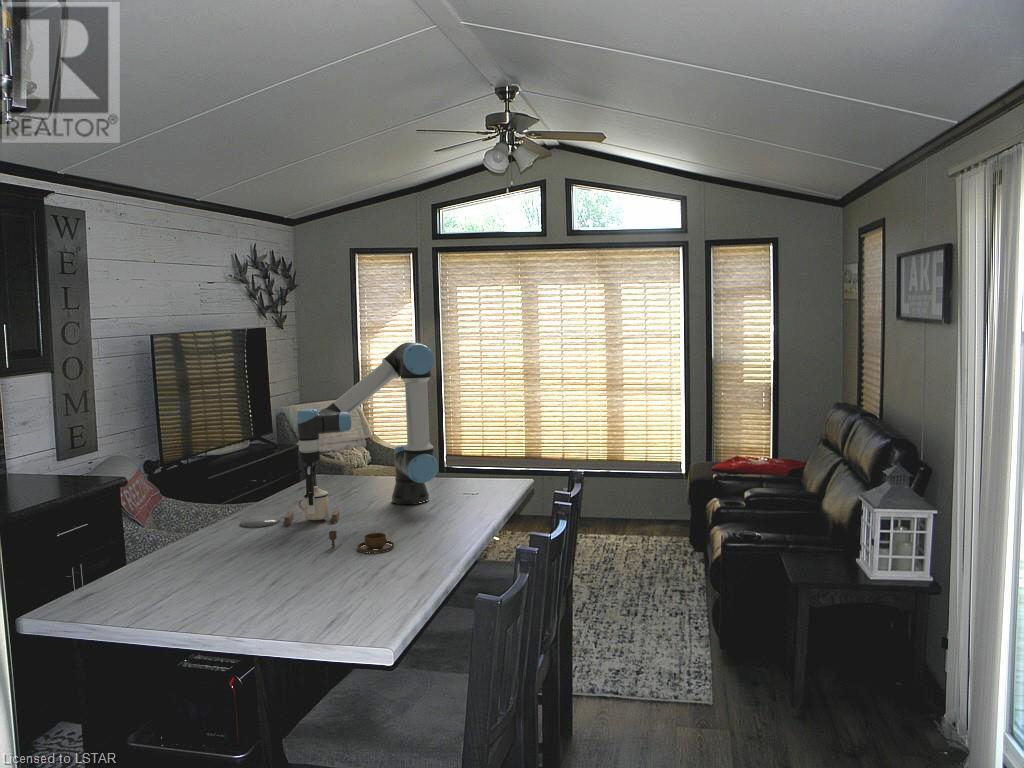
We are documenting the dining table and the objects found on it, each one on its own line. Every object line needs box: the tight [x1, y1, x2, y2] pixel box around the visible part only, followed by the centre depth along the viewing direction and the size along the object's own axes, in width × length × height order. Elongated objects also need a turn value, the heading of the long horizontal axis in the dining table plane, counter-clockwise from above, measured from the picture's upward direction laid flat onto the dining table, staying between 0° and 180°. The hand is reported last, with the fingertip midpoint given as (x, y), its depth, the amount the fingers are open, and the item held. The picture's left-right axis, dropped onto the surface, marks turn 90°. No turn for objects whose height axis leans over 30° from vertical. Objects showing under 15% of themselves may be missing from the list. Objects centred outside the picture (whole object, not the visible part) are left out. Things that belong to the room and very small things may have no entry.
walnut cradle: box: [284, 507, 340, 526], centre depth 311 cm, size 19×10×3 cm, turn 98°
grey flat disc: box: [240, 514, 281, 528], centre depth 310 cm, size 14×14×1 cm
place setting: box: [328, 530, 395, 554], centre depth 274 cm, size 18×20×6 cm
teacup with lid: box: [297, 485, 330, 521], centre depth 311 cm, size 12×9×12 cm
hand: (312, 510), depth 311 cm, fingers closed on teacup with lid, 9 cm apart
